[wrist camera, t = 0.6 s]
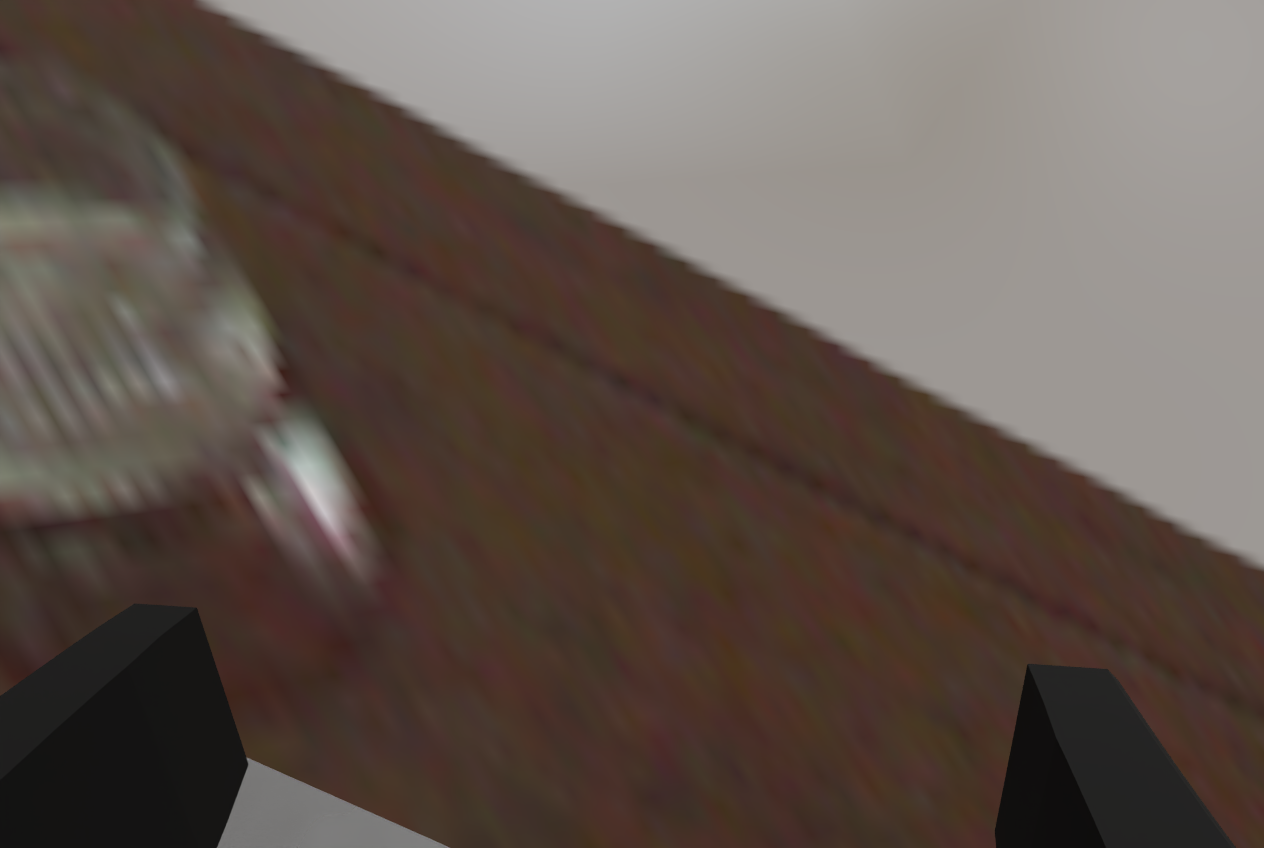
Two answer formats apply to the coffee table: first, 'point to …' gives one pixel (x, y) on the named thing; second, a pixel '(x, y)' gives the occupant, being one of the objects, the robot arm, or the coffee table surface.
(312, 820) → the grey rectangular block
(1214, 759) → the coffee table surface
